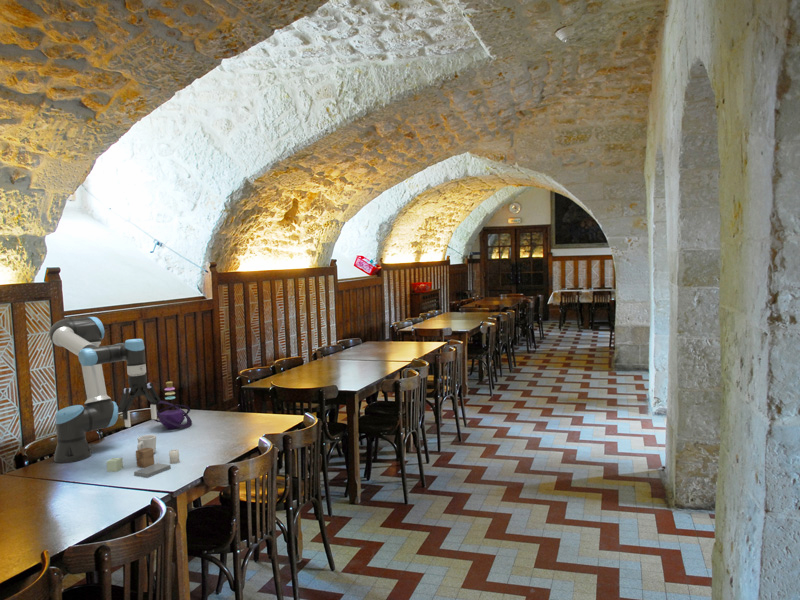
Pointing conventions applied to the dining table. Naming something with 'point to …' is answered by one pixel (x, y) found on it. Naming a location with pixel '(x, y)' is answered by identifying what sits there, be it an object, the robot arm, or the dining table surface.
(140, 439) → the cup
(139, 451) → the walnut block
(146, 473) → the slate board
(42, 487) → the dining table surface
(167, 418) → the decorative bottle
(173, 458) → the stone cylinder
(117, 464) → the sage cube
